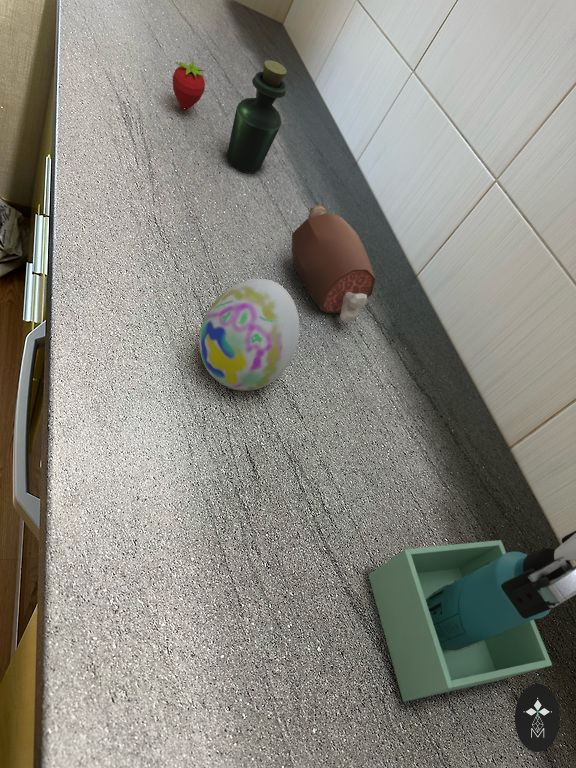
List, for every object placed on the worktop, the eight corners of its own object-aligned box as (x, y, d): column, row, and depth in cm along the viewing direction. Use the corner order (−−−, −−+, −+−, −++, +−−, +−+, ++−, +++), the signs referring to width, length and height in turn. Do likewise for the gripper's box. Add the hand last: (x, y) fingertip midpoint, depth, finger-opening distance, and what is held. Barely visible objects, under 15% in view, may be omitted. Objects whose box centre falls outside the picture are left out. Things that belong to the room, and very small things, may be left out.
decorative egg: (171, 353, 75) (198, 272, 63) (235, 318, 82) (269, 239, 71) (235, 419, 72) (275, 346, 61) (295, 376, 80) (340, 304, 69)
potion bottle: (264, 156, 109) (298, 64, 96) (264, 181, 105) (300, 88, 91) (222, 143, 107) (251, 46, 94) (221, 168, 102) (251, 70, 89)
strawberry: (169, 118, 105) (180, 65, 98) (165, 95, 109) (175, 42, 102) (200, 125, 108) (213, 73, 100) (195, 102, 112) (207, 51, 104)
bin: (458, 564, 72) (501, 539, 65) (500, 679, 65) (552, 665, 58) (368, 574, 66) (404, 549, 60) (402, 702, 59) (448, 688, 53)
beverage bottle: (466, 658, 64) (601, 610, 49) (414, 653, 62) (538, 602, 47) (456, 598, 68) (579, 537, 53) (407, 592, 66) (519, 527, 51)
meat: (372, 332, 91) (404, 288, 84) (310, 335, 86) (338, 288, 78) (326, 243, 101) (351, 196, 93) (268, 241, 95) (289, 191, 87)
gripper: (706, 608, 33) (516, 665, 46) (798, 498, 42) (619, 571, 55) (613, 497, 36) (458, 580, 49) (719, 417, 45) (566, 504, 58)
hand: (544, 575), depth 52 cm, fingers open, 9 cm apart
